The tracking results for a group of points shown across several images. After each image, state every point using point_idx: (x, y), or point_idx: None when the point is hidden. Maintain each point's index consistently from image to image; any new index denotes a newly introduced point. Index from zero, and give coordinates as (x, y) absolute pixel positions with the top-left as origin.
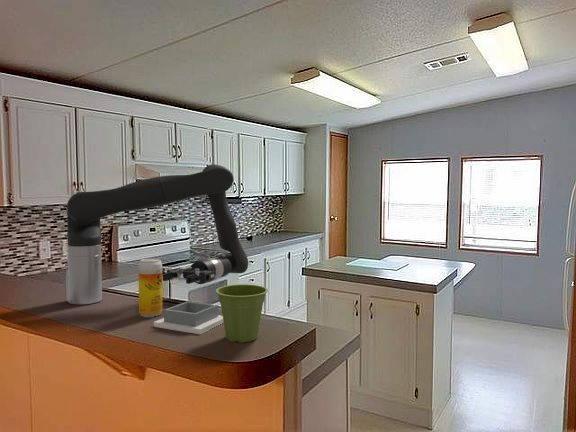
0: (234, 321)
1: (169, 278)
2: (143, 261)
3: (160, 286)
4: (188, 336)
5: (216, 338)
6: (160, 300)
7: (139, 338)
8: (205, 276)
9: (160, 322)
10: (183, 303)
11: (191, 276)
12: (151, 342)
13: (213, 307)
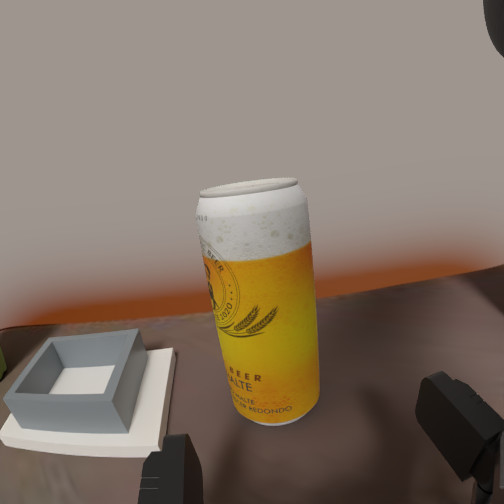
0: None
1: (446, 446)
2: (243, 182)
3: (214, 315)
4: None
5: (22, 365)
6: (225, 367)
7: (156, 323)
8: None
9: (153, 352)
10: (113, 378)
11: (162, 472)
12: (124, 323)
13: (14, 382)
